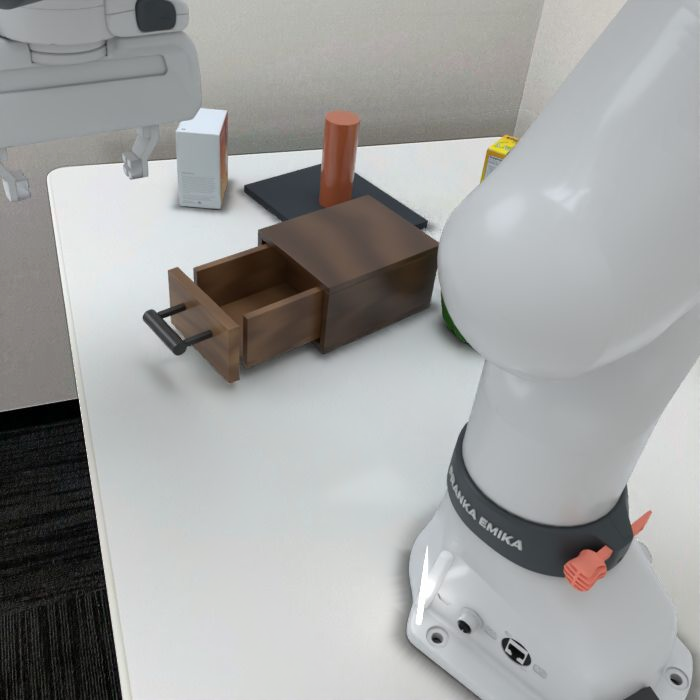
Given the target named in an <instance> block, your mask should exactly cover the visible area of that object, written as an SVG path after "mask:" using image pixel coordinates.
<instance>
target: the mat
mask: <svg viewBox="0 0 700 700" xmlns="http://www.w3.org/2000/svg"><path fill="white" fill-rule="evenodd" d="M321 164H322V163H318V164H315V165H311V166H308V167H304V168H301V169H297V170H293V171H289V172H286V173H282V174H279V175H276V176H272V177H267V178H264V179H261V180H257V181H254V182H251V183H247V184H244V186H243V192H244V193H245V194H246V195H248V196H249V197H250V198H252V199H253V200H254V201H255V202H257V203H258V204H259V205H261V206H262V207H263V208H264V209H266V210H267V211H268V212H270V213H271V214H272V215H273V216H274V217H276V218H277V219H279V220H280V221H281V222H284V221H287V220H290V219H293V218H296V217H299V216H303V215H306V214H309V213H312V212H315V211H318V210H321V209H324V207H322V206H321V205H320V204H319V189H320V176H321ZM365 195H370V196H371V197H373V198H374V199H376V200H377V201H378V202H380V203H381V204H383V205H384V206H386V207H387V208H389V209H390V210H392V211H393V212H395V213H396V214H398V215H399V216H401V217H402V218H404V219H405V220H407V221H408V222H410V223H411V224H413V225H414V226H415V227H417V228H418V229H420V230H422V229H426V228H428V223H429V220H428V219H426V218H425V217H423V216H422V215H420V214H418V212H416V211H414V210H413V209H411V208H410V207H408V206H406V205H405V204H403V203H402V202H401V201H399V200H398V199H396V198H394V197H393V196H391V195H390V194H388V193H387V192H385V191H384V190H382V189H381V188H379V187H378V186H376V185H375V184H374V183H372V182H370V181H369V180H367V179H366V178H365V177H363V176H361V175H360V174H358V173H357V172H354V182H353V191H352V200H353V199H356V198H359V197H362V196H365Z"/></svg>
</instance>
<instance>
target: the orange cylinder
mask: <svg viewBox="0 0 700 700" xmlns="http://www.w3.org/2000/svg"><path fill="white" fill-rule="evenodd" d="M360 126H361V118H360V116H359V115H358V114H357V113H354V112H352V111H349V110H348V111H346V110H342V109H341V110H330V111H328V112H327V113H326V114H325V115H324V125H323V137H322V140H323V141H322V150H321V151H322V152H321V163H320V164H321V176H320V189H319V204H320V205H321V206H322V207H324V208H328V207H331V206H334V205H337V204H340V203H343V202H346V201H350V200H352V191H353V182H354V172H355V170H356V162H357V155H358V144H359V135H360ZM355 173H356V172H355Z"/></svg>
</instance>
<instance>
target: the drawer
mask: <svg viewBox="0 0 700 700" xmlns="http://www.w3.org/2000/svg"><path fill="white" fill-rule="evenodd" d="M192 271H193V280H192V279H191V278H190V277H189V276H188V275H187V274H186V272H184V271H183V270H182V269H181V268H180V267H178V266H176V267H173V268H170V269H167V281H168V296H169V307H167V308H165V309H162V310H159V311H156V310H155V309H153V308H152V309H148V310H146V311H145V312H143V314H142V321H143V322H144V323H145V325H146V326H148V328H149V329H150V330H151V331H152V332H153V333H154V334H155V335H156V337H158V339H159V340H160V341H161V342H162V343H163V344H164V345H165V346H166V348H167V349H169V350H170V352H171V353H172V354H173V355H174V356H182V355H183V354H184V353H185V352H186V351H187V349H188V348H189V347H193V348H194V349H195V350H196V351H197V352H198V353H199V354H200V355H201V356H202V357H203V358H204V359H205V360H206V362H207V363H208V364H209V365H210V366H211V367H212V368H213V369H214V370H215V371H216V372H217V373H218V374H219V375H220V376H221V377H222V378H223V379H224V380H225V381H226V382H227V384H228V385H231V384H233V383H235V382H238V381H239V380H240V364H241V365H242V366H244V368H245V369H250V368H252V367H254V366H257V365H260V364H262V363H264V362H266V361H269V360H272V359H273V358H276V357H278V356H280V355H283V354H285V353H287V352H289V351H292V350H294V349H297V348H299V347H301V346H304V345H305V344H308V343H310V342H311V341H313V340H315V339H318V338H320V334H321V323H322V312H323V301H324V290H323V289H322V288H321V287H320V286H318V285H317V284H316V283H315V282H314V281H312V280H311V279H310V278H309V277H307V276H306V275H305V274H304V273H303V272H301V271H300V270H299V269H298V268H297V267H295V266H294V265H293V264H292V263H290V262H289V261H288V260H287V259H286V258H284V257H283V256H282V255H281V254H280V253H278V252H277V251H276V250H275V249H273V248H272V247H271V246H270V245H269V244H267V243H266V244H263V245H260V246H258V245H257V246H255V247H252V248H248V249H245V250H242V251H239V252H236V253H234V254H231V255H227V256H225V257H222V258H218V259H215V260H212V261H210V262H207V263H204V264H200V265H197V266H194V267H193V268H192ZM169 317H170V323H171V325H173V327H174V328H175V329H176V330H177V331H178V332H179V333H180V334H181V335H182V336H183V337H184V339H183V338H182V337H181V336H180V335H179V334H178V333H177V332H176V330H174V329H173V328H172V326H171V325H170V324H168V322H167V321H166V320H165V319H166V318H169Z"/></svg>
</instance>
